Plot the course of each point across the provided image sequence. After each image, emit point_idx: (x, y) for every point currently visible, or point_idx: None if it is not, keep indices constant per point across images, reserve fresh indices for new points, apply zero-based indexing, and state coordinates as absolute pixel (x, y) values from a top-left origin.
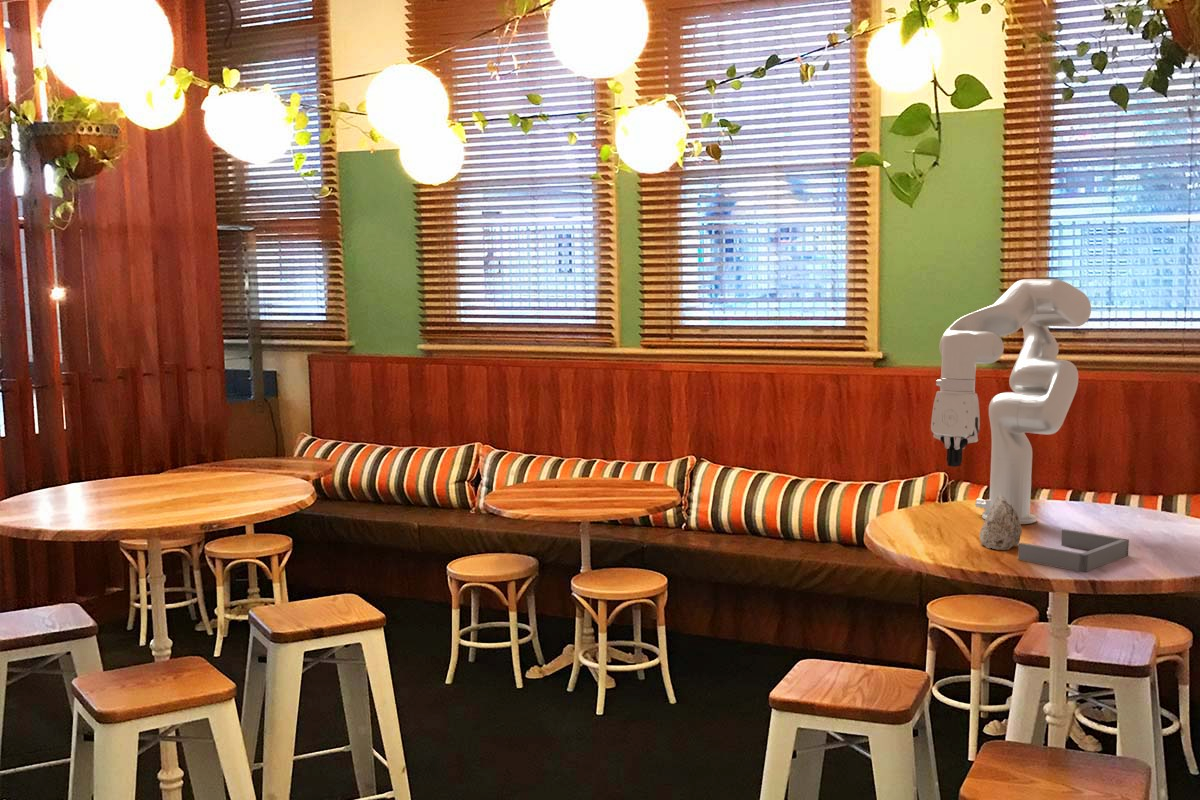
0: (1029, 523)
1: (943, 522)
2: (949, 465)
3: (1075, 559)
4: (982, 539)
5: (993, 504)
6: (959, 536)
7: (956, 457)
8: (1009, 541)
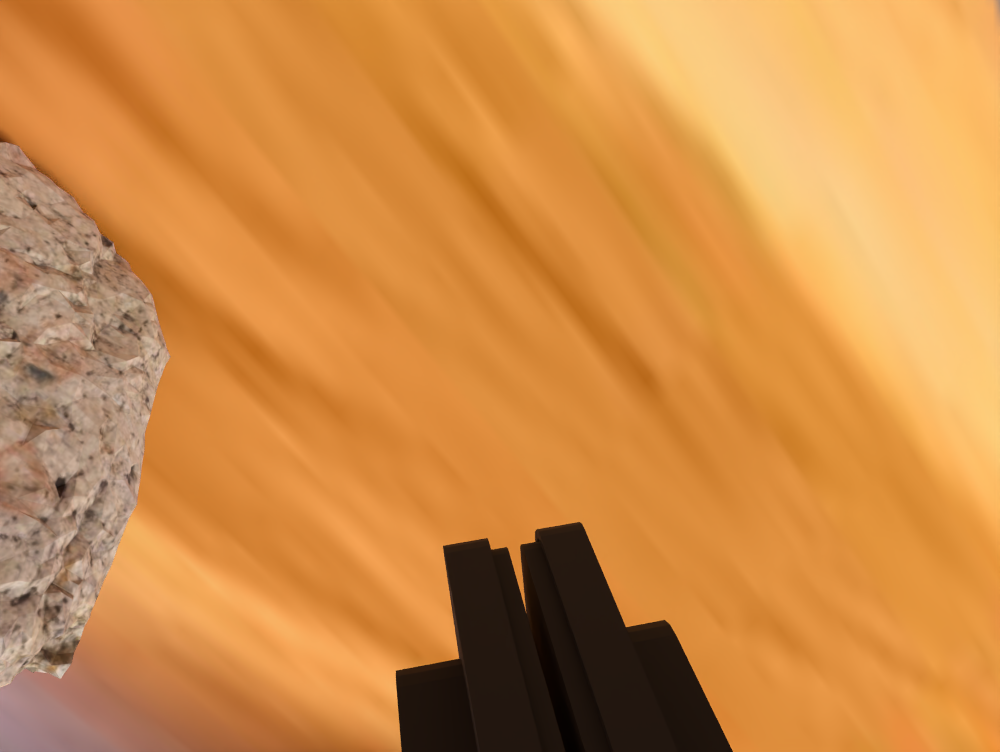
0: None
1: (720, 543)
2: (538, 531)
3: None
4: (4, 165)
5: (31, 527)
6: (378, 290)
7: (454, 735)
8: None
